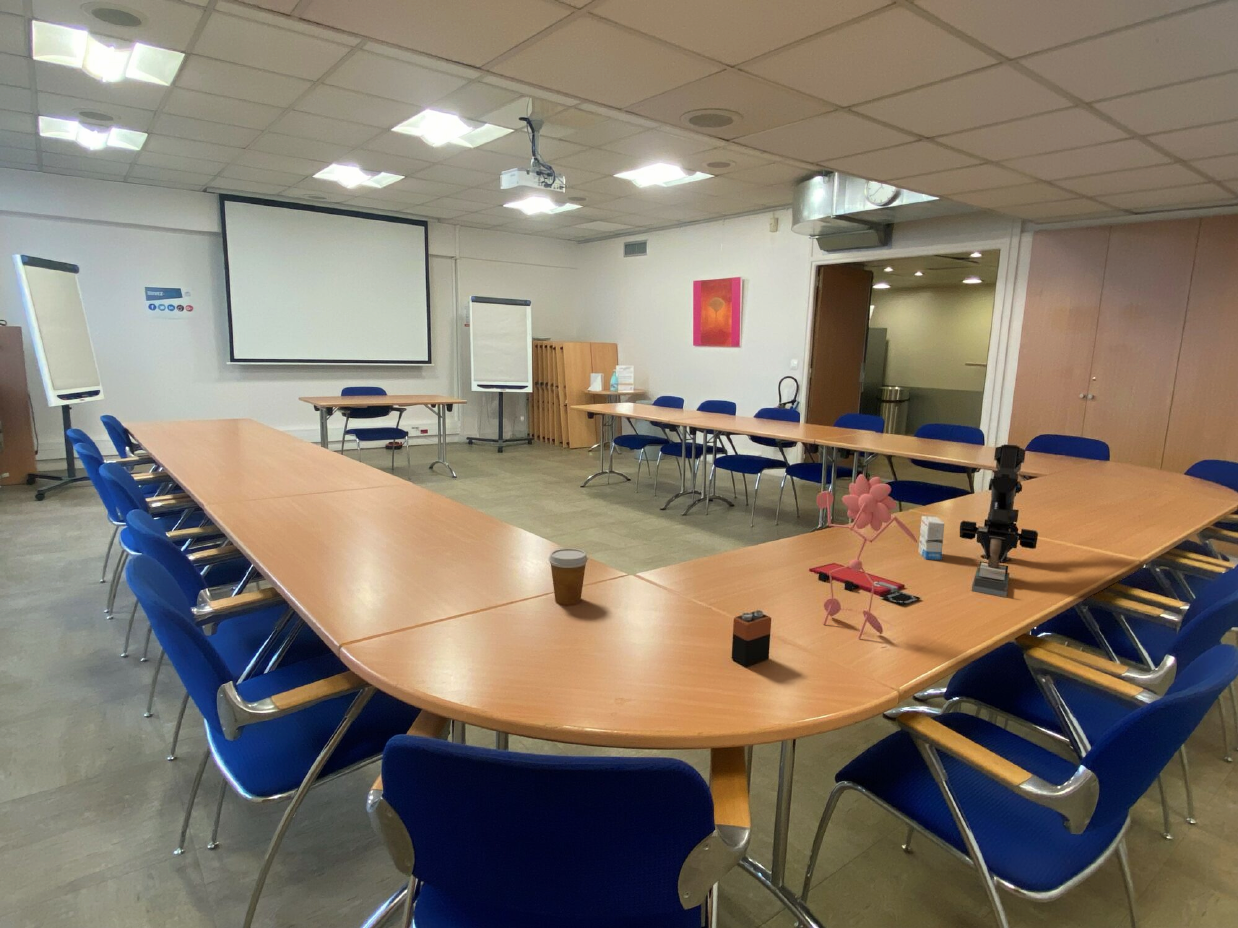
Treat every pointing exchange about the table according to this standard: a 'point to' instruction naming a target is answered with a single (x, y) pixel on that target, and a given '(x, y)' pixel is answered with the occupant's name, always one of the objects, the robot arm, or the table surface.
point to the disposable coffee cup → (568, 574)
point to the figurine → (865, 508)
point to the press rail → (991, 583)
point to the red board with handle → (864, 582)
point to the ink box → (931, 538)
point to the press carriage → (993, 562)
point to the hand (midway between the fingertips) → (993, 560)
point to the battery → (751, 638)
